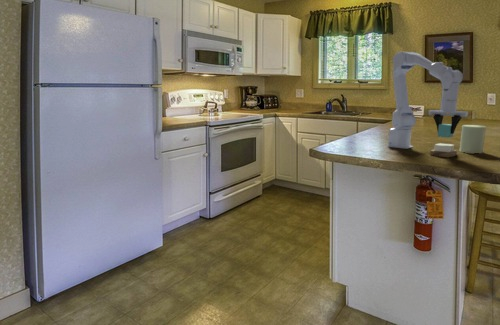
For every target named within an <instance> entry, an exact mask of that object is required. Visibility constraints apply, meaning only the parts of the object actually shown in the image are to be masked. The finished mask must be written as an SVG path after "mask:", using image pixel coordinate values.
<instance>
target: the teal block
mask: <svg viewBox="0 0 500 325" xmlns="http://www.w3.org/2000/svg"><path fill="white" fill-rule="evenodd" d="M451 125H452V123H450V124H449V123H442V124H439V128H438V131H437V137H441V138H452V137H454V134H451Z"/></svg>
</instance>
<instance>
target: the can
mask: <svg viewBox="0 0 500 325" xmlns="http://www.w3.org/2000/svg"><path fill="white" fill-rule="evenodd" d="M486 129H487V126H485V125H481V124H480V125H479V124H478V125H477V124H463V125H462V126H461V134H460V135H461V136H460V144H459V152H460V153H464V152H465V153H467V154H474V153H479V154H483V153H484V145H485V144H484V143H485V136H486V131H487V130H486ZM465 153H464V154H465Z"/></svg>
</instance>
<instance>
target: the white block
mask: <svg viewBox="0 0 500 325" xmlns="http://www.w3.org/2000/svg"><path fill="white" fill-rule="evenodd" d="M433 147H434V148H433V150H434V151H441V152H452V151H454V150H455V144H450V143H440V142H439V143H435V144H434V146H433Z"/></svg>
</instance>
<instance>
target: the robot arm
mask: <svg viewBox="0 0 500 325" xmlns="http://www.w3.org/2000/svg"><path fill="white" fill-rule="evenodd" d="M392 61H393V62H392V64H393V67H392V80H393V90H394V97H395V99H394V100H395V106H396V107H395V108H396V109H395V110H394V111H393V112H392V118H391V124H392V128H390V129H389V130H388V139H387V140H388V141H387V146H386V147H387V148H395V149H397V148H398V149H403V150H404V149H405V150H406V149H410V148H413V147H414V146H413V145H411V137H412V130H413V127H415V125H416V122H417V120H416V119H417V118H416V117H415V115H414V110H413V109H412V108H411V107H410V104H409V96H408V95H409V94H408V86H407V85H408V84H407V76H406V75H407V73H408V72H409V71H410V70H411V69H413V68H414V67H415V66H416V65H417V66H419V67H421V68H424V69H426V70H427V71H428V73H429V75H431V76H433V77H434V78H436V79H438V80H439V81H440V83H441V87H442V93H441V102H440V109H439V110H438V109H435V110H434V109H430V110H429V109H428V116H432V115H433V120H434V122H435V125H436V129H437V132H438V128H439V124H443V120H444V116H448V117H449V116H450V117H451V124H452V125H451V134H453V135H454V134H455V131H456V128H457V126H458V124H459V122H460V121H461V120H462V117H465V118H466V117H468V116H469V111H461V110H457V105H458V104H457V103H458V97H459V96H458V95H459V86H460V84H461V82H463V78H464V75H463V72H462V71H460V70H459V69H455V70H454V69H453V67H451V66H447V65H445V63H444V62H442V61H439V62H438V61H436V62H433V61H431V60H429V59H428V58H426V57H425V56H423V55H422V54H420V53H418V52H416V51H398V52H396V53H395V55H394V56H393V58H392Z"/></svg>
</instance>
